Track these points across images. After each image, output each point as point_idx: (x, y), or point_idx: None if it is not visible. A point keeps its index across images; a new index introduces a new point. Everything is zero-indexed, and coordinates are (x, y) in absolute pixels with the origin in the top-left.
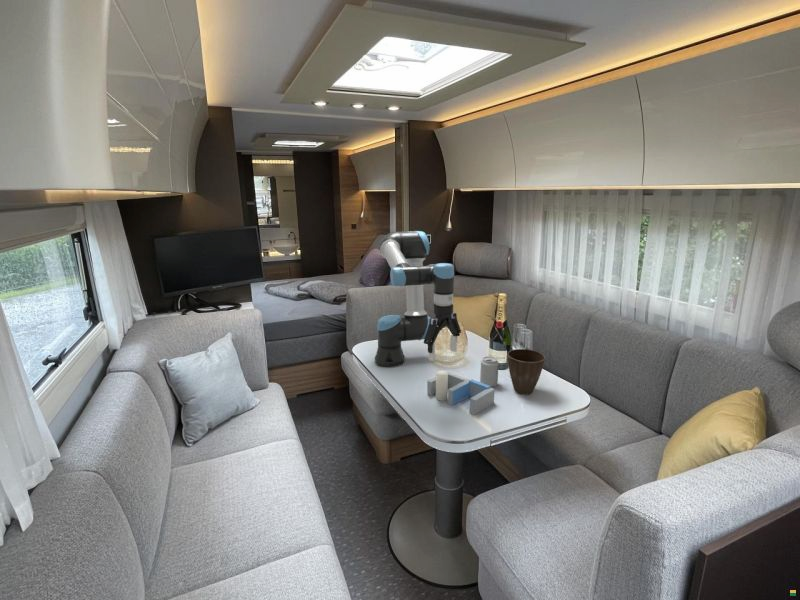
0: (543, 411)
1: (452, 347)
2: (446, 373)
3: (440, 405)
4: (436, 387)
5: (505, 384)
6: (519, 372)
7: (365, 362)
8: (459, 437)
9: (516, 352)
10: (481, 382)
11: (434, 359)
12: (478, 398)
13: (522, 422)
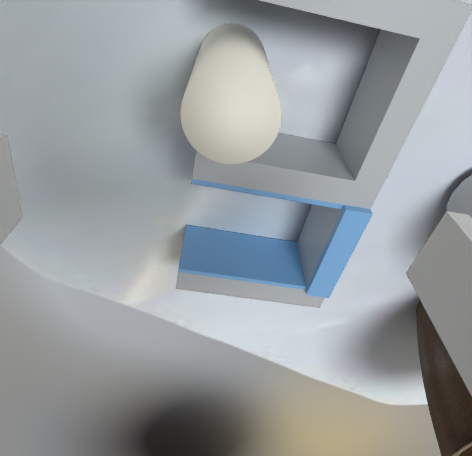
0: (321, 362)
1: (449, 273)
2: (245, 150)
3: (157, 97)
4: (197, 58)
5: None
6: (433, 393)
7: None
8: (22, 256)
9: None
10: (469, 181)
11: (7, 226)
12: (198, 291)
13: (230, 344)
